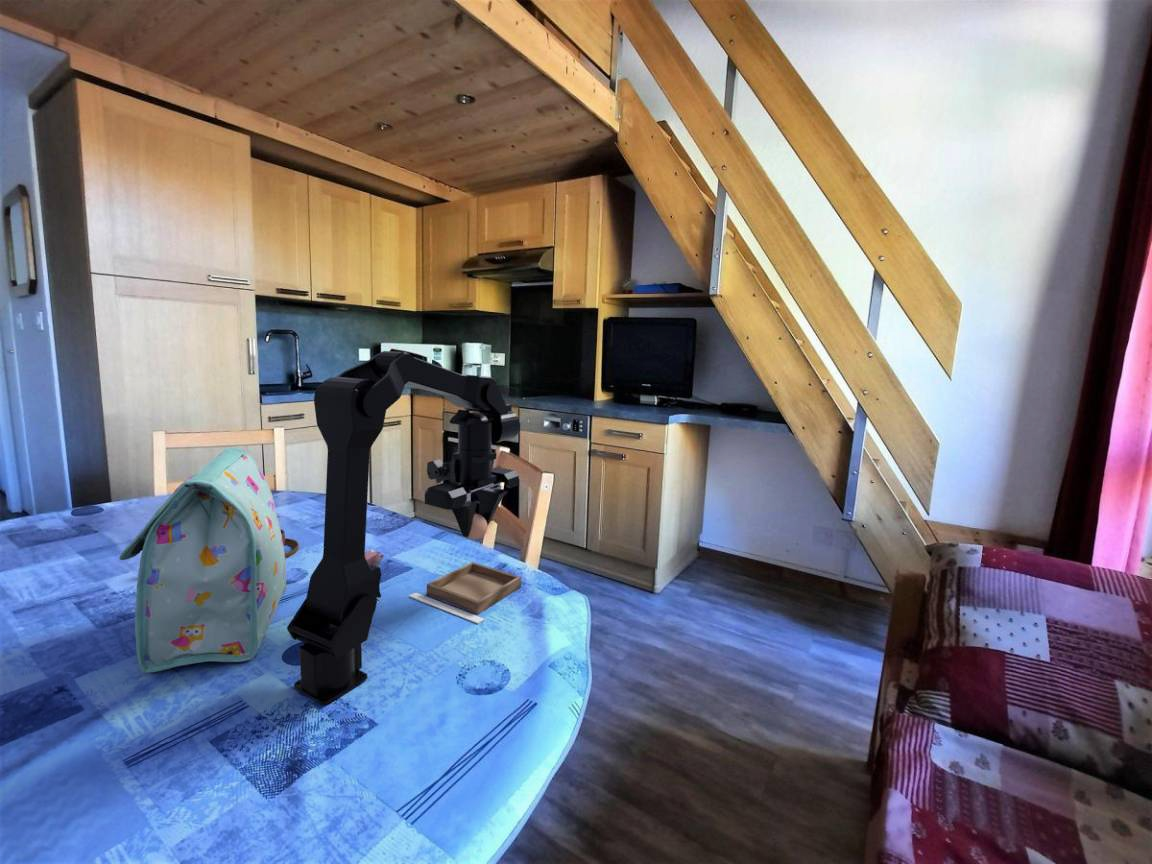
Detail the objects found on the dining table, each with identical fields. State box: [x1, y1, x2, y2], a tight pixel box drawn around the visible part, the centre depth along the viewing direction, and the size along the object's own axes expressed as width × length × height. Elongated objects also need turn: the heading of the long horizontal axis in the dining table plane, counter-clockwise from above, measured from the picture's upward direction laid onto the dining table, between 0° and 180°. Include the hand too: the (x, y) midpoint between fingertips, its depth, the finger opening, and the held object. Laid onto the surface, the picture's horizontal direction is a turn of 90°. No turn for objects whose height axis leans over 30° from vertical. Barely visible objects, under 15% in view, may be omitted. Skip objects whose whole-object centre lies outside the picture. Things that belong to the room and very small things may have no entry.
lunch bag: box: [118, 446, 287, 673], centre depth 75 cm, size 23×16×27 cm
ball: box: [466, 513, 489, 541], centre depth 90 cm, size 4×4×4 cm
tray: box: [426, 561, 522, 615], centre depth 92 cm, size 12×12×2 cm
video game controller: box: [365, 548, 384, 567], centre depth 94 cm, size 10×5×7 cm, turn 169°
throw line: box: [408, 592, 485, 625], centre depth 86 cm, size 2×16×1 cm, turn 60°
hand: (474, 532), depth 91 cm, fingers closed on ball, 4 cm apart
